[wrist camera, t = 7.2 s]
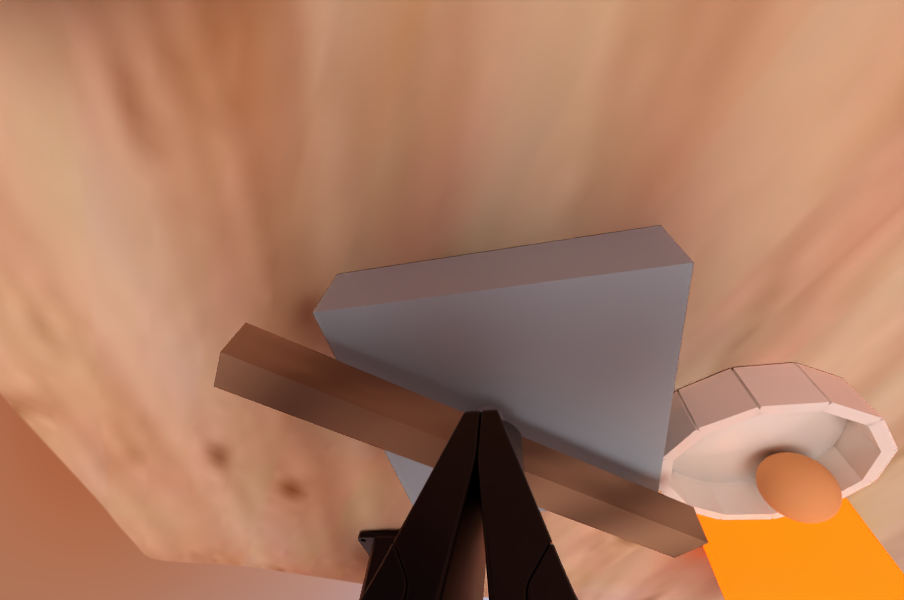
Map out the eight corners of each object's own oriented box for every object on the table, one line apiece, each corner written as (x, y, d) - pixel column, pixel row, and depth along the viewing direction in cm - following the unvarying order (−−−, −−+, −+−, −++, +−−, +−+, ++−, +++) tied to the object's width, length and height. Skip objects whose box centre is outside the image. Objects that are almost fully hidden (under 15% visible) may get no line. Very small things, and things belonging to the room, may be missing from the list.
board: (638, 460, 24) (660, 524, 21) (424, 468, 26) (414, 526, 23) (661, 225, 15) (704, 274, 12) (337, 274, 18) (304, 325, 15)
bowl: (818, 477, 23) (848, 518, 21) (639, 482, 25) (652, 520, 23) (887, 355, 18) (936, 395, 16) (650, 374, 20) (668, 412, 18)
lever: (701, 502, 18) (717, 538, 17) (655, 526, 20) (666, 561, 19) (248, 313, 14) (222, 342, 13) (235, 363, 16) (212, 394, 14)
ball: (730, 458, 22) (775, 441, 23) (755, 521, 21) (800, 501, 22) (791, 468, 19) (840, 447, 19) (823, 543, 18) (873, 518, 19)
